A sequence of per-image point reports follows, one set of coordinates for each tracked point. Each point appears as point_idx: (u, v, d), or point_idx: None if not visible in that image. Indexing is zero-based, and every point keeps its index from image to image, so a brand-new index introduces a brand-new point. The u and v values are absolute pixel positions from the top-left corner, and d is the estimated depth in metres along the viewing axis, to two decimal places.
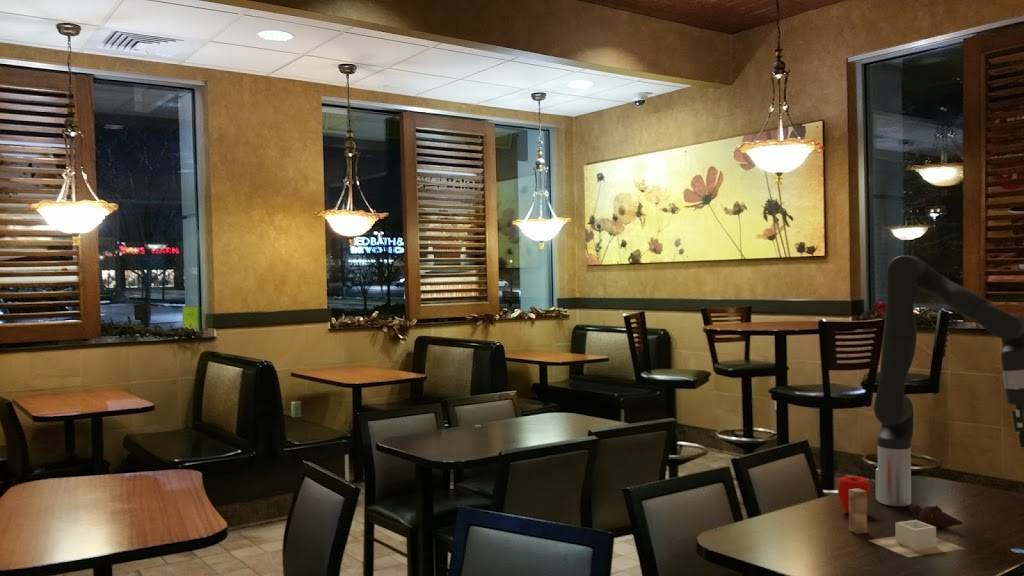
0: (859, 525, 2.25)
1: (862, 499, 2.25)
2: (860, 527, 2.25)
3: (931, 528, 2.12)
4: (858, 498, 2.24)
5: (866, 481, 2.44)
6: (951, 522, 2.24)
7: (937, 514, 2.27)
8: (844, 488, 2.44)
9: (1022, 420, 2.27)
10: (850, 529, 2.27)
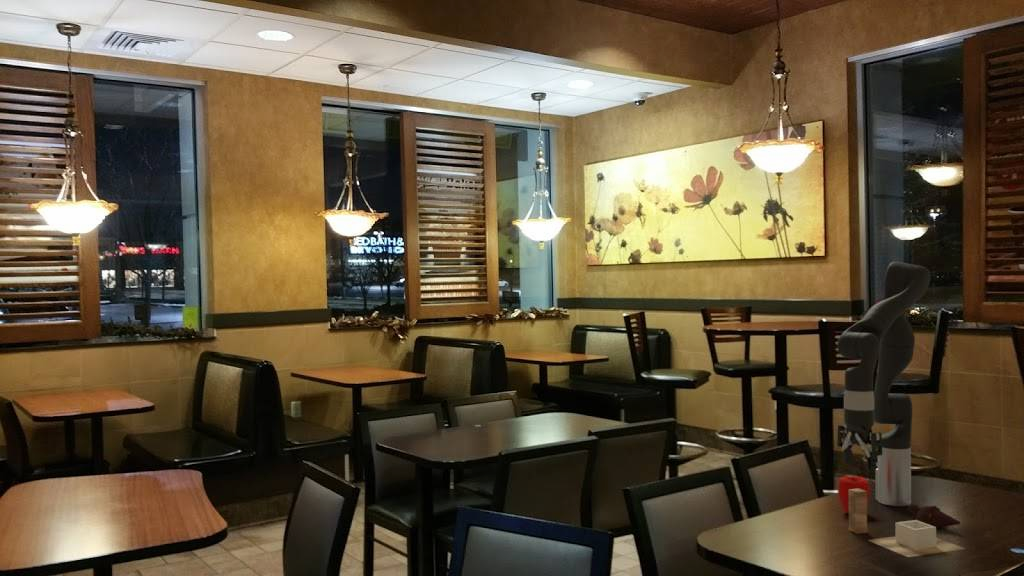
0: (859, 525, 2.25)
1: (862, 499, 2.25)
2: (860, 527, 2.25)
3: (931, 528, 2.12)
4: (858, 498, 2.24)
5: (866, 481, 2.44)
6: (948, 522, 2.25)
7: (935, 514, 2.27)
8: (844, 488, 2.44)
9: None
10: (850, 529, 2.27)
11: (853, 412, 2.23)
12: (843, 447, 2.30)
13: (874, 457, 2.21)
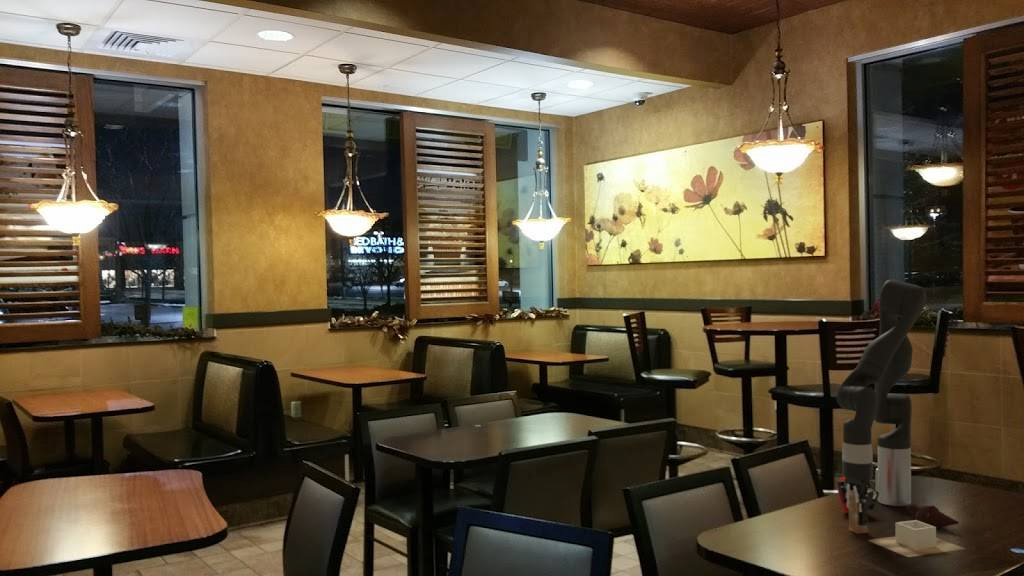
0: (859, 525, 2.25)
1: (862, 499, 2.25)
2: (860, 527, 2.25)
3: (931, 528, 2.12)
4: None
5: None
6: (946, 522, 2.25)
7: (933, 514, 2.28)
8: None
9: None
10: (850, 529, 2.27)
11: (851, 465, 2.23)
12: (847, 504, 2.28)
13: None
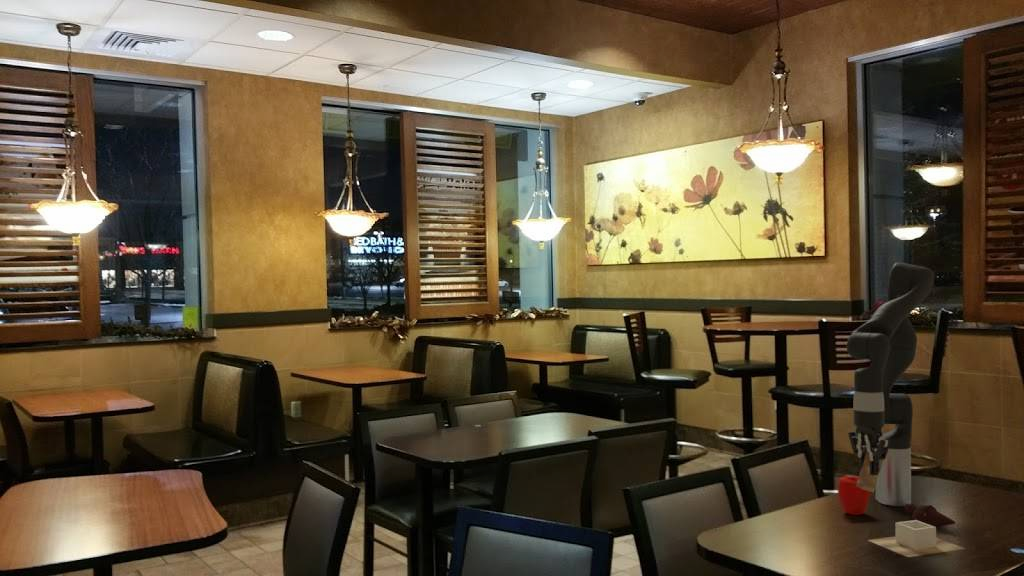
0: (869, 479, 2.22)
1: None
2: (870, 481, 2.22)
3: (931, 528, 2.12)
4: None
5: None
6: (943, 522, 2.25)
7: (930, 513, 2.28)
8: (844, 488, 2.44)
9: None
10: (859, 482, 2.24)
11: (862, 413, 2.21)
12: (859, 454, 2.25)
13: None
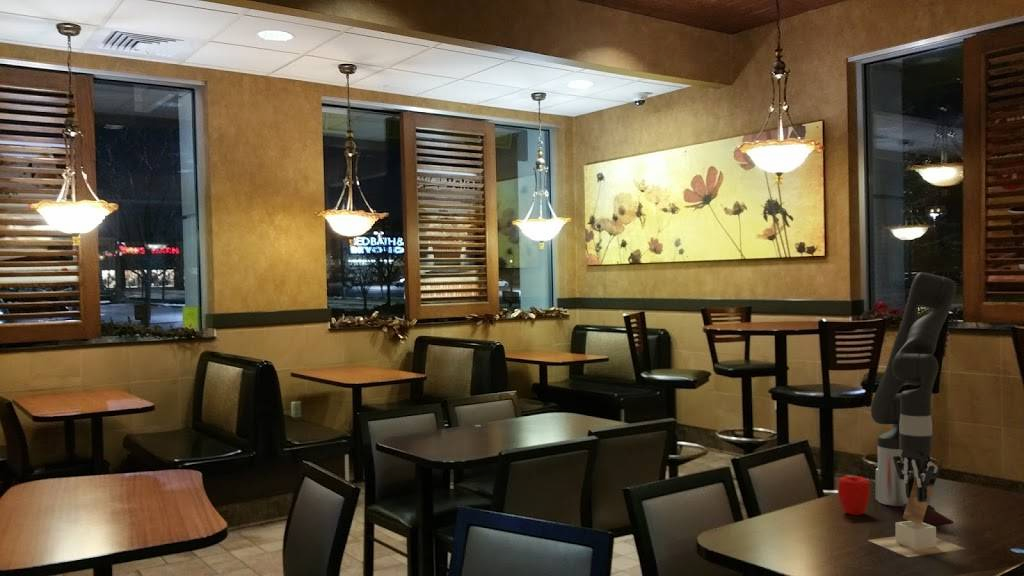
0: (917, 510, 2.13)
1: None
2: (918, 513, 2.13)
3: (931, 528, 2.12)
4: None
5: (866, 481, 2.44)
6: (941, 521, 2.25)
7: (929, 513, 2.28)
8: (844, 488, 2.44)
9: None
10: (906, 513, 2.15)
11: (910, 438, 2.12)
12: (905, 480, 2.16)
13: None
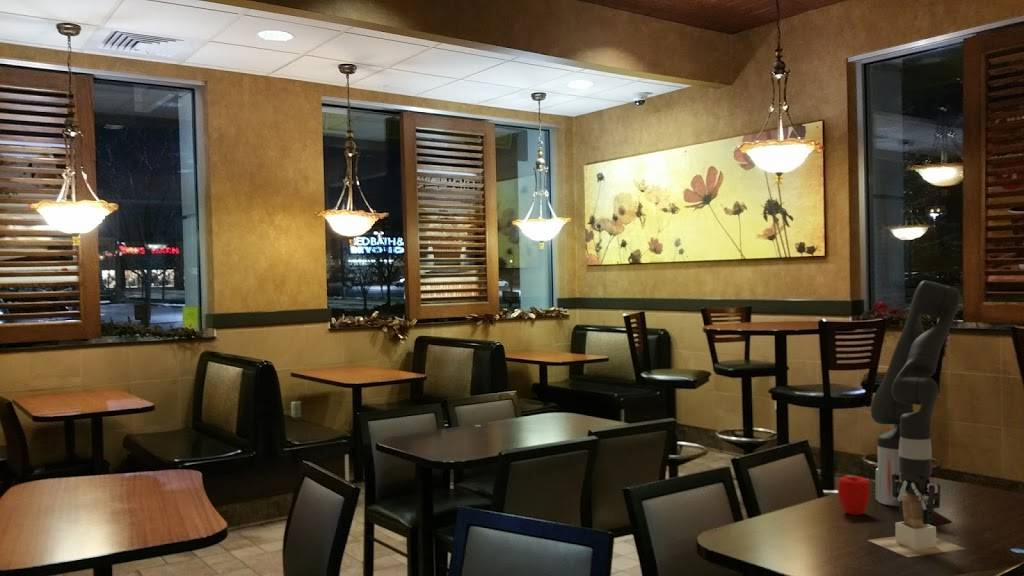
0: None
1: (917, 503, 2.13)
2: None
3: (931, 528, 2.12)
4: (913, 503, 2.12)
5: (866, 481, 2.44)
6: (940, 521, 2.26)
7: None
8: (844, 488, 2.44)
9: None
10: None
11: (909, 461, 2.12)
12: (899, 498, 2.18)
13: (930, 510, 2.10)
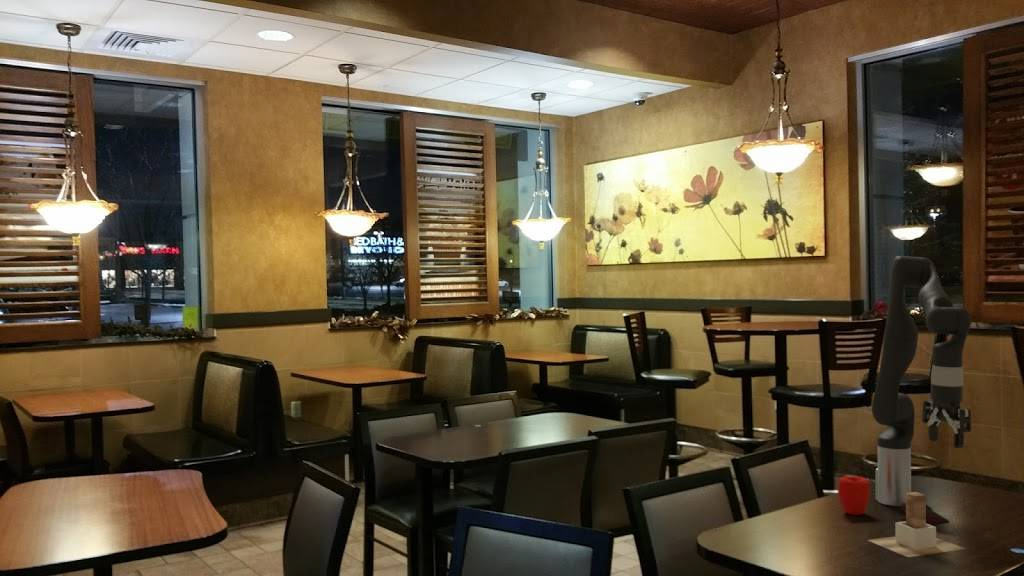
0: None
1: (921, 503, 2.13)
2: None
3: (931, 528, 2.12)
4: (916, 503, 2.13)
5: (866, 481, 2.44)
6: (938, 521, 2.26)
7: None
8: (844, 488, 2.44)
9: None
10: None
11: (941, 388, 2.19)
12: (928, 423, 2.26)
13: (962, 434, 2.17)
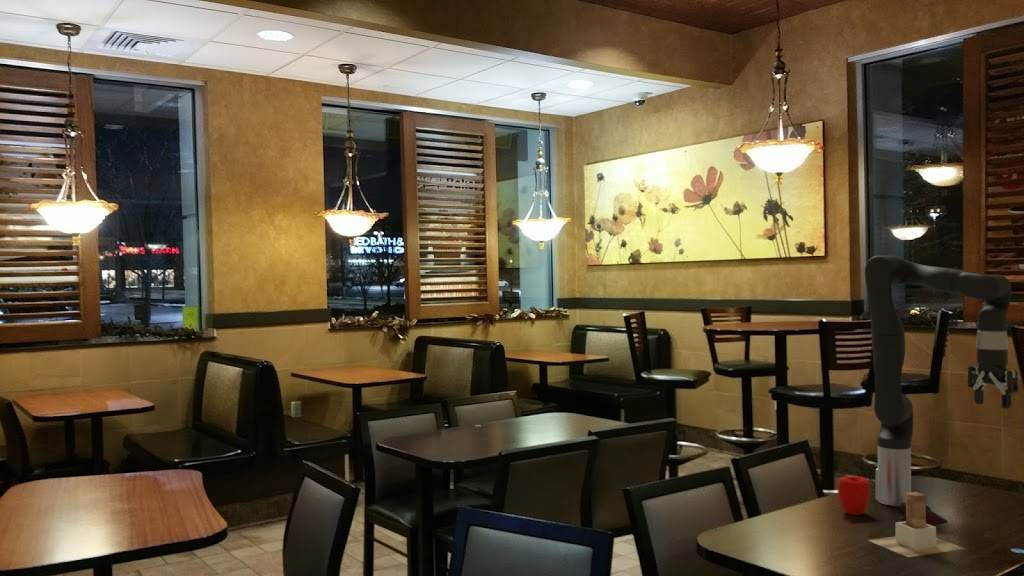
0: None
1: (921, 503, 2.13)
2: None
3: (931, 528, 2.12)
4: (916, 503, 2.13)
5: (866, 481, 2.44)
6: (936, 521, 2.26)
7: None
8: (844, 488, 2.44)
9: None
10: None
11: (988, 351, 2.29)
12: (974, 387, 2.36)
13: (1009, 394, 2.27)
